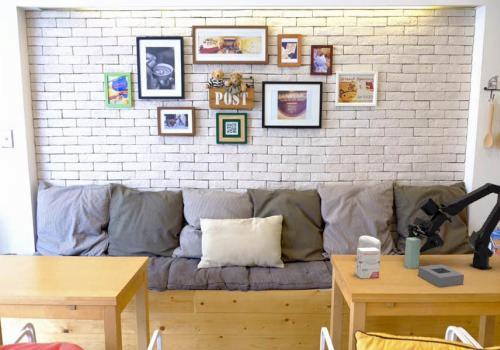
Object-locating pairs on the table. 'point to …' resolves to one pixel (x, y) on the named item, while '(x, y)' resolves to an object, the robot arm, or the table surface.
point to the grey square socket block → (441, 275)
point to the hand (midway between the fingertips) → (412, 248)
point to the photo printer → (369, 242)
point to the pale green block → (412, 252)
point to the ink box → (368, 262)
